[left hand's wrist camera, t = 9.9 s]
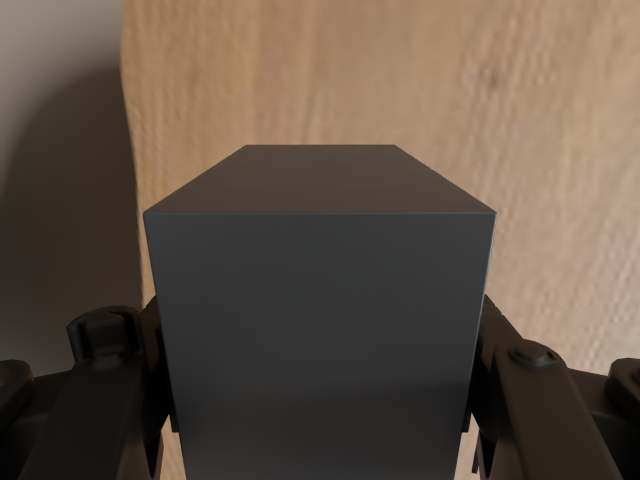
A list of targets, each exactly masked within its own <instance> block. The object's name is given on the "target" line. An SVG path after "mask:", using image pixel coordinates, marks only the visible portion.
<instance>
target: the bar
mask: <svg viewBox="0 0 640 480" xmlns="http://www.w3.org/2000/svg"><path fill="white" fill-rule="evenodd" d="M143 220H144V226H145V232H146V238H147V244H148V250H149V256H150V262H151V269H152V275H153V281H154V287H155V293H156V299H157V305H158V311H159V317H160V323H161V329H162V335H163V341H164V347H165V353H166V359H167V365H168V371H169V377H170V383H171V389H172V395H173V401H174V407H175V413H176V420H177V426H178V432H179V438H180V444H181V450H182V456H183V462H184V468H185V474H186V480H454V476H455V470H456V464H457V458H458V452H459V446H460V440H461V434H462V428H463V422H464V415H465V409H466V403H467V397H468V391H469V385H470V379H471V373H472V367H473V361H474V355H475V348H476V342H477V336H478V330H479V324H480V318H481V312H482V306H483V300H484V294H485V287H486V281H487V275H488V269H489V263H490V257H491V251H492V245H493V239H494V233H495V226H496V220H497V212H496V211H494V210H493V209H491V208H490V207H488V206H487V205H485V204H484V203H482V202H481V201H479V200H478V199H476V198H475V197H473V196H472V195H470V194H468V193H467V192H465V191H464V190H462V189H461V188H459V187H458V186H456V185H455V184H453V183H452V182H450V181H449V180H447V179H446V178H444V177H443V176H441V175H440V174H438V173H437V172H435V171H434V170H432V169H431V168H429V167H427V166H426V165H424V164H423V163H421V162H420V161H418V160H417V159H415V158H414V157H412V156H411V155H409V154H408V153H406V152H405V151H403V150H402V149H400V148H399V147H397V146H396V145H245V146H244V147H242V148H241V149H239V150H237V151H236V152H234V153H233V154H231V155H230V156H228V157H227V158H225V159H224V160H222V161H221V162H219V163H218V164H216V165H215V166H213V167H212V168H210V169H208V170H207V171H205V172H204V173H202V174H201V175H199V176H198V177H196V178H195V179H193V180H192V181H190V182H189V183H187V184H186V185H184V186H183V187H181V188H180V189H178V190H176V191H175V192H173V193H172V194H170V195H169V196H167V197H166V198H164V199H163V200H161V201H160V202H158V203H157V204H155V205H154V206H152V207H151V208H149V209H147V210H146V211H144V212H143Z"/></svg>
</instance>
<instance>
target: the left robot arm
mask: <svg viewBox="0 0 640 480" xmlns="http://www.w3.org/2000/svg"><path fill="white" fill-rule="evenodd" d="M66 328H67V332H68V336H69V340H70V344H71V348H72V351H73V355H74V359H75V364H74V366H73V368H72V370H69V371H65V372H61V373H56V374H50V375H45V376H40V377H35V378H33V375H32V371H31V368H30V365H28V364H27V363H26V362H24V361H20V360H5V361H0V480H160V473H161V465H162V457H163V449H164V445H163V438H162V433H161V429H162V427H163V425H164V423H165V421H166V419H167V417H168V415H169V416H170V422H171V428H172V432H178V426H177V420H176V413H175V407H174V401H173V395H172V389H171V383H170V377H169V371H168V365H167V359H166V353H165V347H164V341H163V335H162V329H161V323H160V317H159V311H158V305H157V299H156V295H155V296H154V297H153V298H152V299H151V301H150V302H149V303H148V304H147V305H146V308H144V309H143V310H142V311H141V313H140V314H139V311H138V310H136V309H135V308H133V307H128V306H108V307H103V308H98V309H95V310H92V311H90V312H87V313H84V314H83V315H81V316H79V317H77V318H76V319H74V320H73V321H72V322H71V323H70V324H69V325H68V326H67V327H66ZM471 413H472V414H473V416H474V418H475V420H476V422H477V424H478V426H479V433H478V438H477V444H476V449H475V455H474V460H473V466H472V473H475V474H477V471H478V466H479V472H480V480H640V359H634V358H623V359H617V360H616V361H614V362H613V363H612V364H611V367H610V370H609V373H608V376H604V375H599V374H594V373H589V372H584V371H579V370H574V369H570V368H567V366H566V364H565V362H564V361H563V359H562V358H561V357H560V356H559V354H557V353H556V352H554V351H553V350H552V349H550V348H549V347H547V346H544V345H542V344H540V343H537V342H535V341H531V340H526V339H523V338H522V337H521V335H520V334H519V333H518V332H517V331H516V330H515V328H514V327H513V326H512V325H511V324H510V322H509V321H508V320H507V319H506V318H505V316H504V315H502V313H501V312H500V310H499V309H498V308H497V307H495V304H494V303H493V302H492V301H491V300H490V298H489V297H488V296H487V295H486V294H484V300H483V306H482V312H481V318H480V324H479V330H478V336H477V342H476V348H475V355H474V361H473V367H472V373H471V379H470V385H469V391H468V397H467V403H466V409H465V415H464V422H463V428H462V432H468V430H469V425H470V419H471Z"/></svg>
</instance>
